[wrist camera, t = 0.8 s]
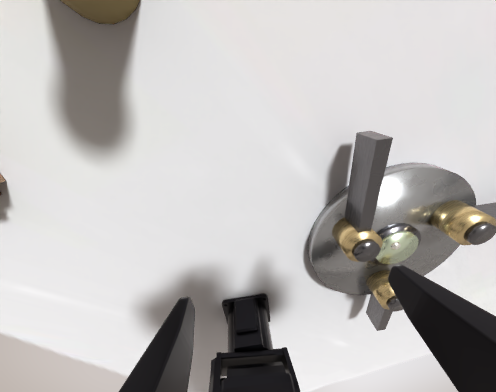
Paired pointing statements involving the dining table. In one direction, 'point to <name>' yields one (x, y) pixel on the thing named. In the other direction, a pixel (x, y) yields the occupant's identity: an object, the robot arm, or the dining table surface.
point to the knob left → (363, 198)
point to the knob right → (466, 221)
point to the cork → (103, 9)
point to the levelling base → (390, 235)
